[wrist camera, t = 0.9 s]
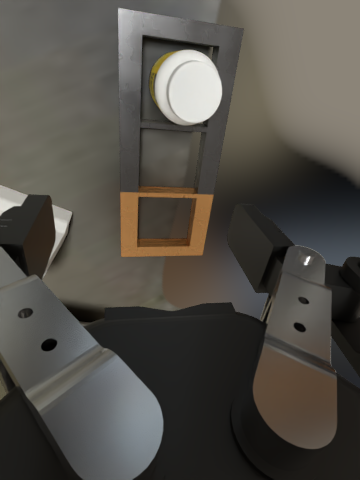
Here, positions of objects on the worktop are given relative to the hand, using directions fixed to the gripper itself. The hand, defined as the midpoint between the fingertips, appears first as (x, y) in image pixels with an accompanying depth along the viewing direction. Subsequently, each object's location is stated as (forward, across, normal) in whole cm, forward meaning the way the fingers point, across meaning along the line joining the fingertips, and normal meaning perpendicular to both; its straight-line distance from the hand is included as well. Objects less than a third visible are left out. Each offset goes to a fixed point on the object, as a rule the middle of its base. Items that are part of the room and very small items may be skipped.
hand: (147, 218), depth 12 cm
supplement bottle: (+21, -4, -4) cm, 22 cm away
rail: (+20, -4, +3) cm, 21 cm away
